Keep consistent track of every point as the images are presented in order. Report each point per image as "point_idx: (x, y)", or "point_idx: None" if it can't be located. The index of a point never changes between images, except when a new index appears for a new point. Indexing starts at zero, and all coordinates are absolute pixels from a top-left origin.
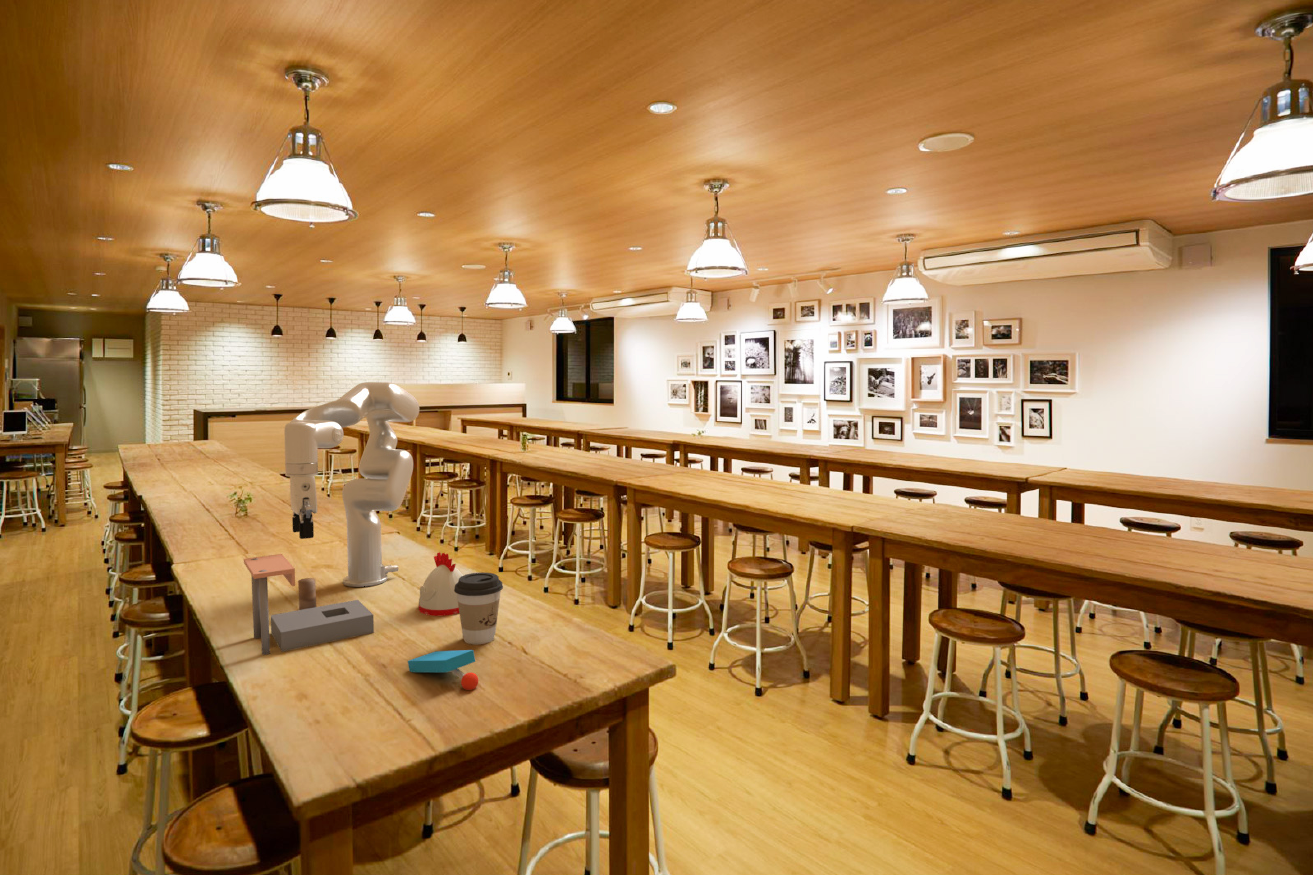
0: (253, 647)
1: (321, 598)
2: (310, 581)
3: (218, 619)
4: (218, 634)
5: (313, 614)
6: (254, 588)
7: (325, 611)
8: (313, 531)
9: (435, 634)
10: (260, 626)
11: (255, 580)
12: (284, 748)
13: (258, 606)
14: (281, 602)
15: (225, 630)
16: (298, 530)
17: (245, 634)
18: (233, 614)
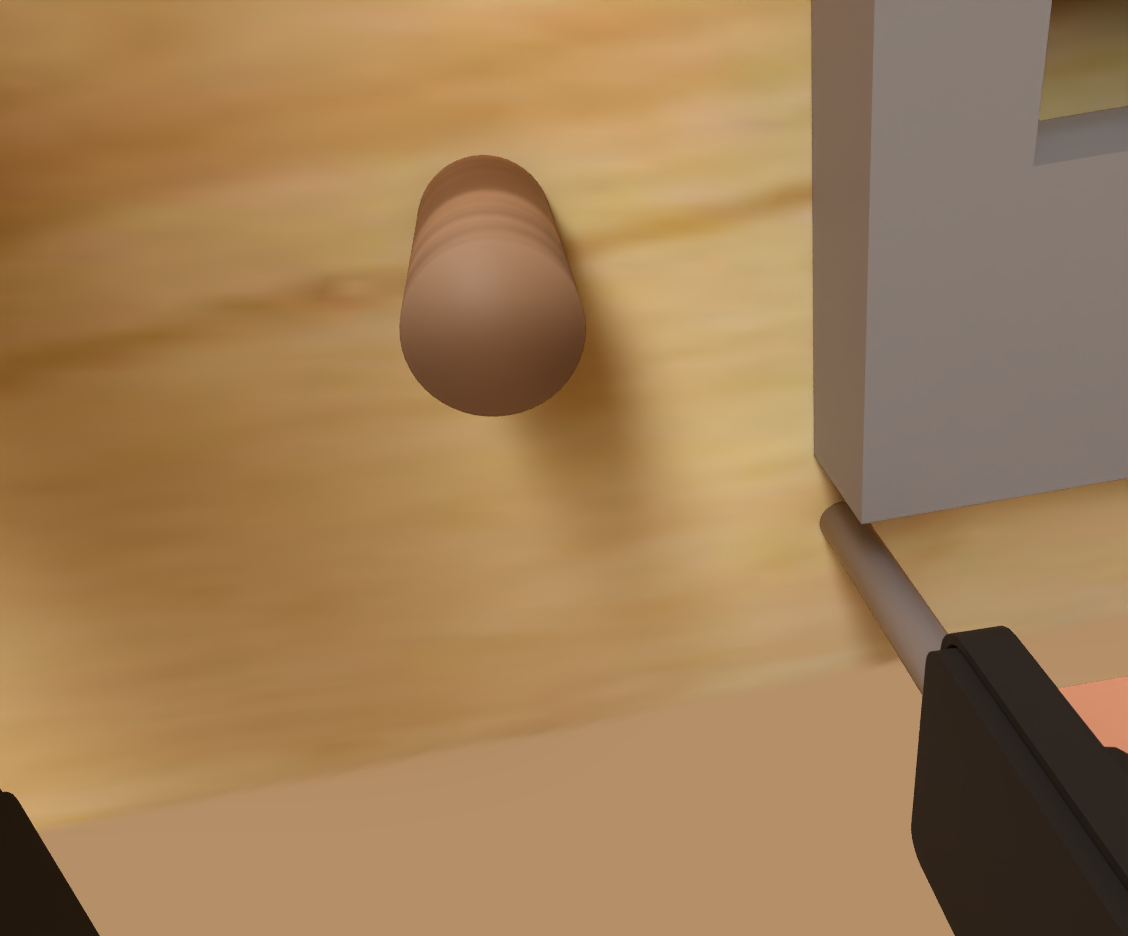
0: (1000, 528)
1: (25, 85)
2: (568, 296)
3: (360, 727)
4: (654, 696)
5: (1066, 232)
6: None
7: (1033, 124)
8: (1090, 733)
9: None
10: (883, 545)
11: None
12: None
13: None
14: (71, 417)
15: (600, 675)
16: (61, 926)
17: (739, 581)
18: (284, 671)
